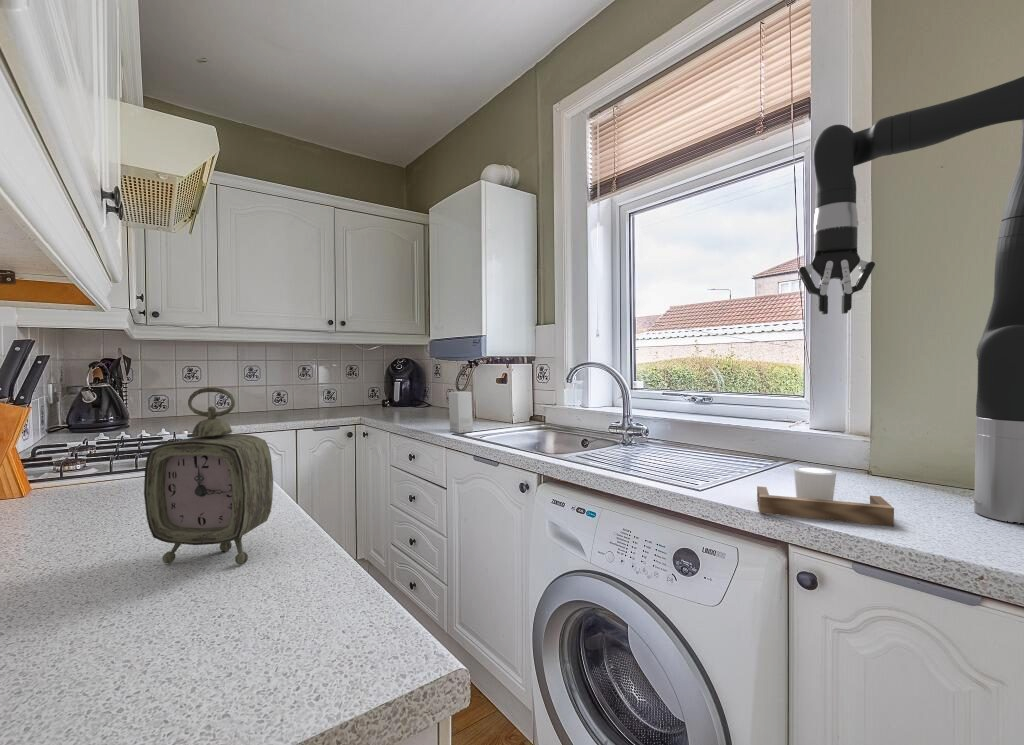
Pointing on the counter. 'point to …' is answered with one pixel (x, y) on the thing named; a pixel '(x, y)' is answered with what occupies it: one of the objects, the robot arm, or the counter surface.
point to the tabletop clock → (208, 485)
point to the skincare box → (460, 411)
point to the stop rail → (827, 508)
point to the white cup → (814, 483)
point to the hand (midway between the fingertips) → (834, 313)
